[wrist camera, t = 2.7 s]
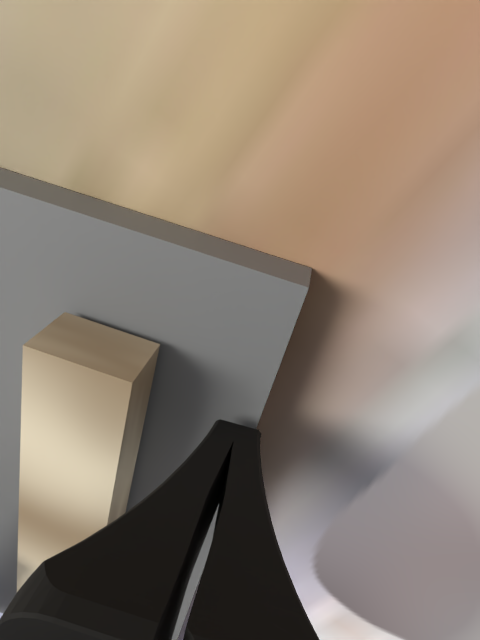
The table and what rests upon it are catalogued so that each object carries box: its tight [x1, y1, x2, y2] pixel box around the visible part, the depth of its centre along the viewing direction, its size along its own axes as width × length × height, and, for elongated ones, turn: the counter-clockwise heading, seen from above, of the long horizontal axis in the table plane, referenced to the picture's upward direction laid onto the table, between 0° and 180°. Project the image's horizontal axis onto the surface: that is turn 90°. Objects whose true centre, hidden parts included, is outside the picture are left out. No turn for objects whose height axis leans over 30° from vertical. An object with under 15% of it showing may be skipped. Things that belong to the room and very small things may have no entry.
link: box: [17, 312, 160, 592], centre depth 16 cm, size 17×4×3 cm, turn 165°
